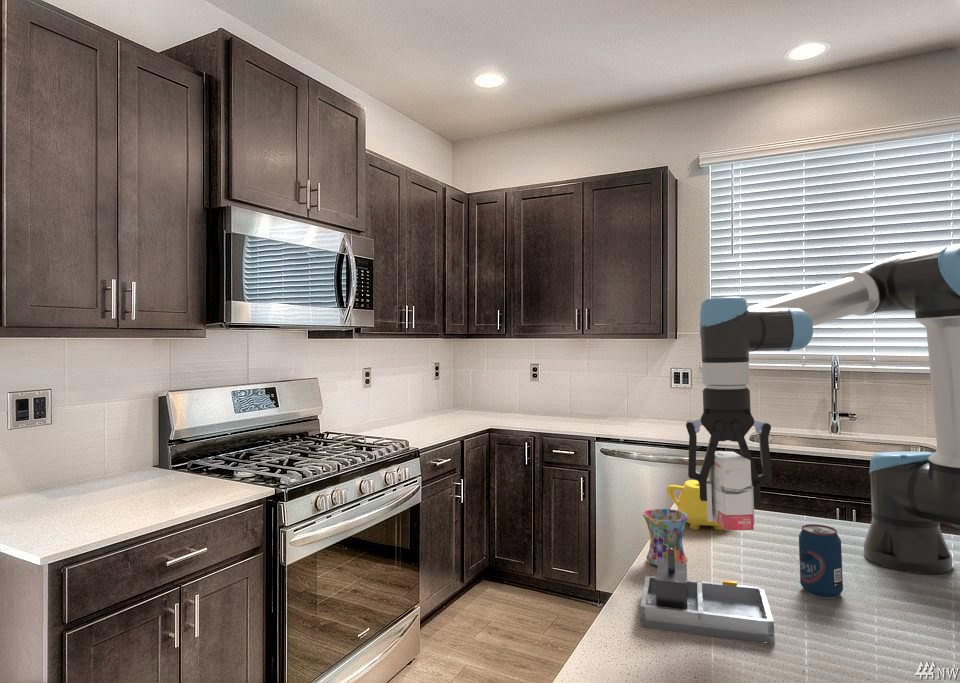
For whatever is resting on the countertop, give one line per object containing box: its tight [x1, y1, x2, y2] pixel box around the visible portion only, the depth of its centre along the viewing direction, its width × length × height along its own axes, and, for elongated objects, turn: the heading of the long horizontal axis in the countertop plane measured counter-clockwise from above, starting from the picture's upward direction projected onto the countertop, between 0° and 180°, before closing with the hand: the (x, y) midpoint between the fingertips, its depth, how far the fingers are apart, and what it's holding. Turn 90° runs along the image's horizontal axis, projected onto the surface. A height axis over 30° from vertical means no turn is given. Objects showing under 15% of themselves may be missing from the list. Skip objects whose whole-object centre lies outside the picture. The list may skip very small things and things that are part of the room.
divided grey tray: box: [640, 548, 776, 645], centre depth 101 cm, size 20×14×11 cm
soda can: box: [798, 523, 844, 600], centre depth 109 cm, size 7×7×12 cm
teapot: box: [666, 478, 725, 531], centre depth 151 cm, size 13×20×12 cm
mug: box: [642, 508, 688, 567], centre depth 127 cm, size 12×9×11 cm
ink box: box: [708, 450, 755, 531], centre depth 99 cm, size 9×5×12 cm, turn 175°
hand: (730, 520), depth 99 cm, fingers closed on ink box, 6 cm apart
